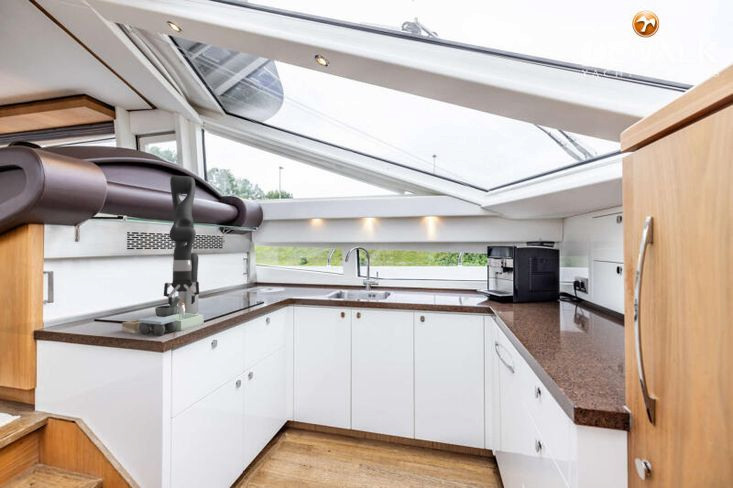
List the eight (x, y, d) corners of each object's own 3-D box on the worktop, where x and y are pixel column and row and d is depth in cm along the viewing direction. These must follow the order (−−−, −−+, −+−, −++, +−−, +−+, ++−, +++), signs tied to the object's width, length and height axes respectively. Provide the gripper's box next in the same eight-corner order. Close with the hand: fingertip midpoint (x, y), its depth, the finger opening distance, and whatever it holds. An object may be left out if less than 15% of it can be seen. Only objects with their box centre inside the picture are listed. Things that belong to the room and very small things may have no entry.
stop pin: (181, 323, 152) (182, 302, 152) (185, 323, 151) (186, 302, 151) (177, 324, 150) (178, 302, 150) (181, 325, 149) (182, 303, 149)
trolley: (138, 333, 137) (138, 319, 138) (153, 329, 144) (153, 316, 144) (161, 336, 134) (162, 321, 134) (176, 332, 141) (176, 318, 141)
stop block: (137, 327, 147) (137, 319, 147) (149, 329, 145) (149, 320, 145) (122, 331, 140) (122, 322, 140) (134, 333, 138) (134, 323, 138)
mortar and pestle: (151, 323, 155) (152, 298, 156) (158, 319, 164) (158, 295, 164) (178, 322, 159) (178, 297, 159) (183, 318, 168) (183, 294, 168)
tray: (181, 322, 159) (181, 313, 159) (203, 324, 155) (203, 314, 155) (157, 328, 146) (158, 318, 146) (181, 331, 142) (181, 320, 142)
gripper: (199, 268, 157) (198, 302, 157) (164, 269, 150) (164, 304, 150) (199, 269, 151) (199, 304, 151) (163, 270, 144) (163, 307, 144)
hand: (181, 304), depth 151 cm, fingers open, 8 cm apart
